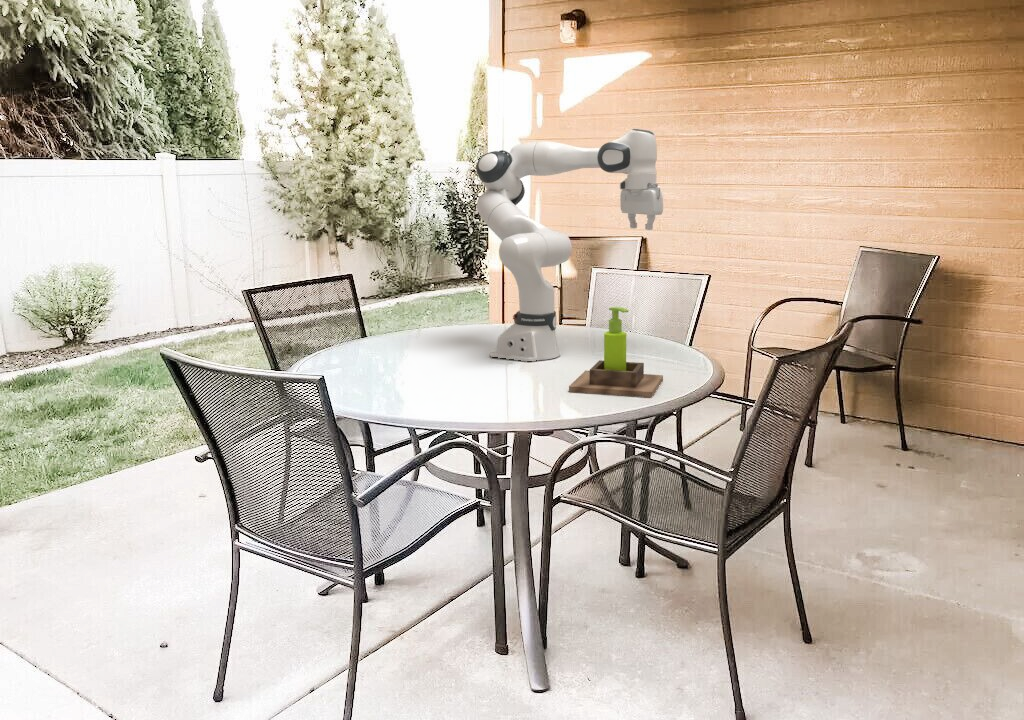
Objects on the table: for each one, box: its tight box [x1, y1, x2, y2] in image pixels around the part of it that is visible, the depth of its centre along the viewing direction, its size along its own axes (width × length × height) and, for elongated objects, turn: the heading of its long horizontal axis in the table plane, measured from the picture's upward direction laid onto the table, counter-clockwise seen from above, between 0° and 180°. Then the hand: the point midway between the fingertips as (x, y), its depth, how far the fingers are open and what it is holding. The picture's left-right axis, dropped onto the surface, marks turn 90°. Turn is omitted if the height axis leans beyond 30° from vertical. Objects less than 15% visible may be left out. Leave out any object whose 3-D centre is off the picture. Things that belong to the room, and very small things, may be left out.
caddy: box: [568, 359, 664, 398], centre depth 210 cm, size 22×18×6 cm
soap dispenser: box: [603, 306, 630, 371], centre depth 208 cm, size 6×7×20 cm
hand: (641, 229), depth 243 cm, fingers open, 8 cm apart
